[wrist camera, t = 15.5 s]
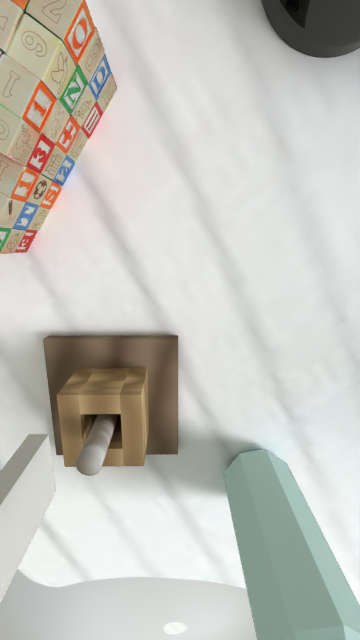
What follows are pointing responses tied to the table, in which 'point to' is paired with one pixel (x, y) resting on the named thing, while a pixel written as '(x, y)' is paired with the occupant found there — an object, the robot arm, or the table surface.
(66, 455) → the bead
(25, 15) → the stack of blocks
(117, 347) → the board
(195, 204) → the table surface
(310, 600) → the water bottle
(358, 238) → the table surface
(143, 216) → the table surface
